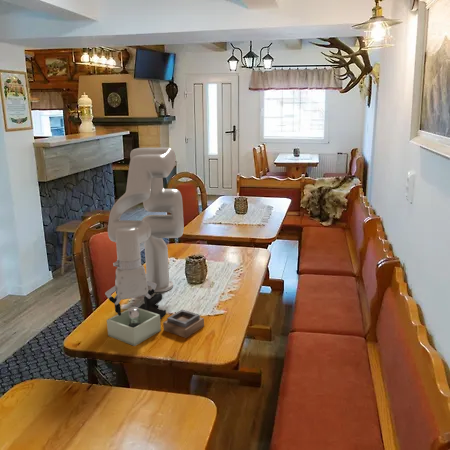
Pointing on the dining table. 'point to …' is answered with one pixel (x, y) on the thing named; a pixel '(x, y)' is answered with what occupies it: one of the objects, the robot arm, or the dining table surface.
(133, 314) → the light bulb
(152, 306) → the pistol
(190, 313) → the brown square base
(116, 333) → the bin
